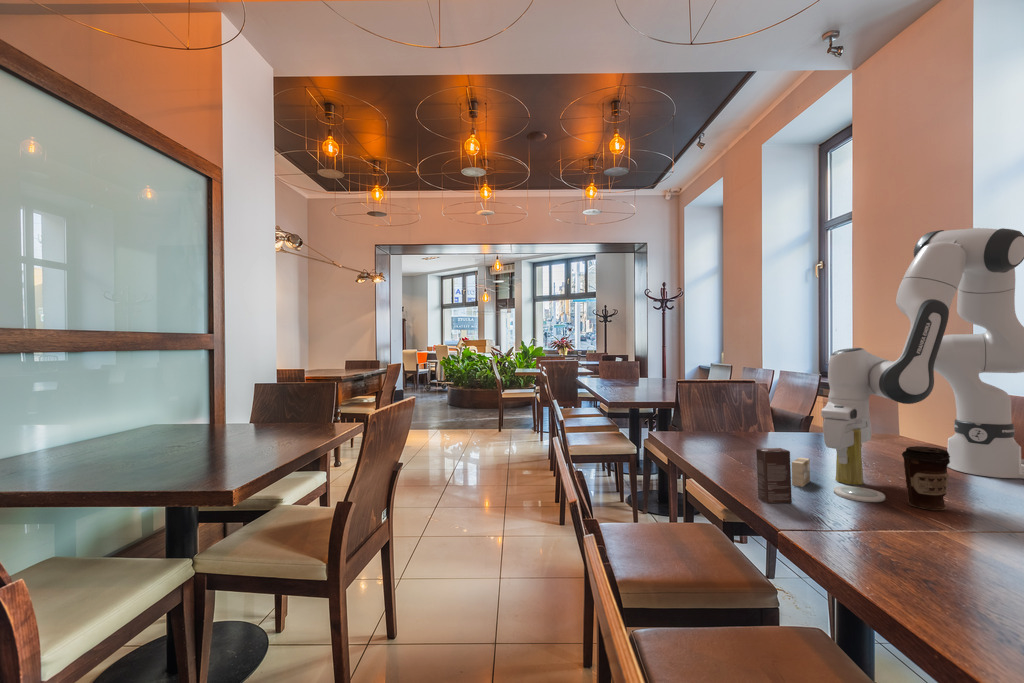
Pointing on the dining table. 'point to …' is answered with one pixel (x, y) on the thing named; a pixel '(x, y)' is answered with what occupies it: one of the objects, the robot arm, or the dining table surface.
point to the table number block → (800, 471)
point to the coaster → (859, 494)
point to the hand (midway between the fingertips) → (849, 461)
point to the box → (774, 475)
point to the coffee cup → (926, 476)
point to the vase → (851, 464)
